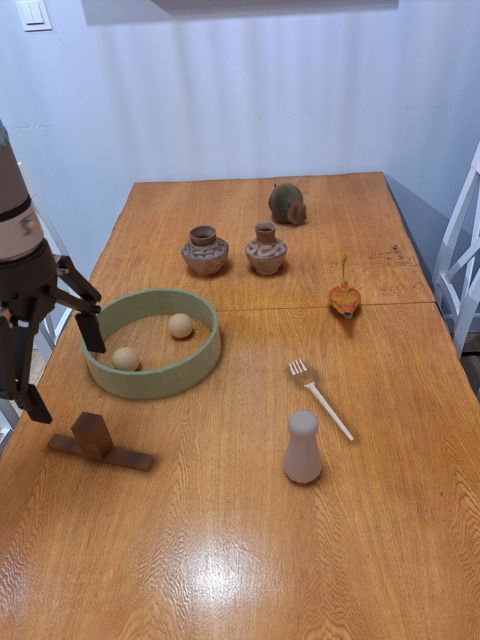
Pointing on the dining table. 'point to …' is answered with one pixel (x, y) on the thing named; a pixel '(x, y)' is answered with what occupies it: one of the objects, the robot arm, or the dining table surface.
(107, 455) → the brown inverted t block
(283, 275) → the dining table surface
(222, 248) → the pair of painted pots
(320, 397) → the fork
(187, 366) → the green ring
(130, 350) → the dough ball
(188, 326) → the dough ball
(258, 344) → the dining table surface
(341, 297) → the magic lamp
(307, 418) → the salt shaker
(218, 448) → the dining table surface
